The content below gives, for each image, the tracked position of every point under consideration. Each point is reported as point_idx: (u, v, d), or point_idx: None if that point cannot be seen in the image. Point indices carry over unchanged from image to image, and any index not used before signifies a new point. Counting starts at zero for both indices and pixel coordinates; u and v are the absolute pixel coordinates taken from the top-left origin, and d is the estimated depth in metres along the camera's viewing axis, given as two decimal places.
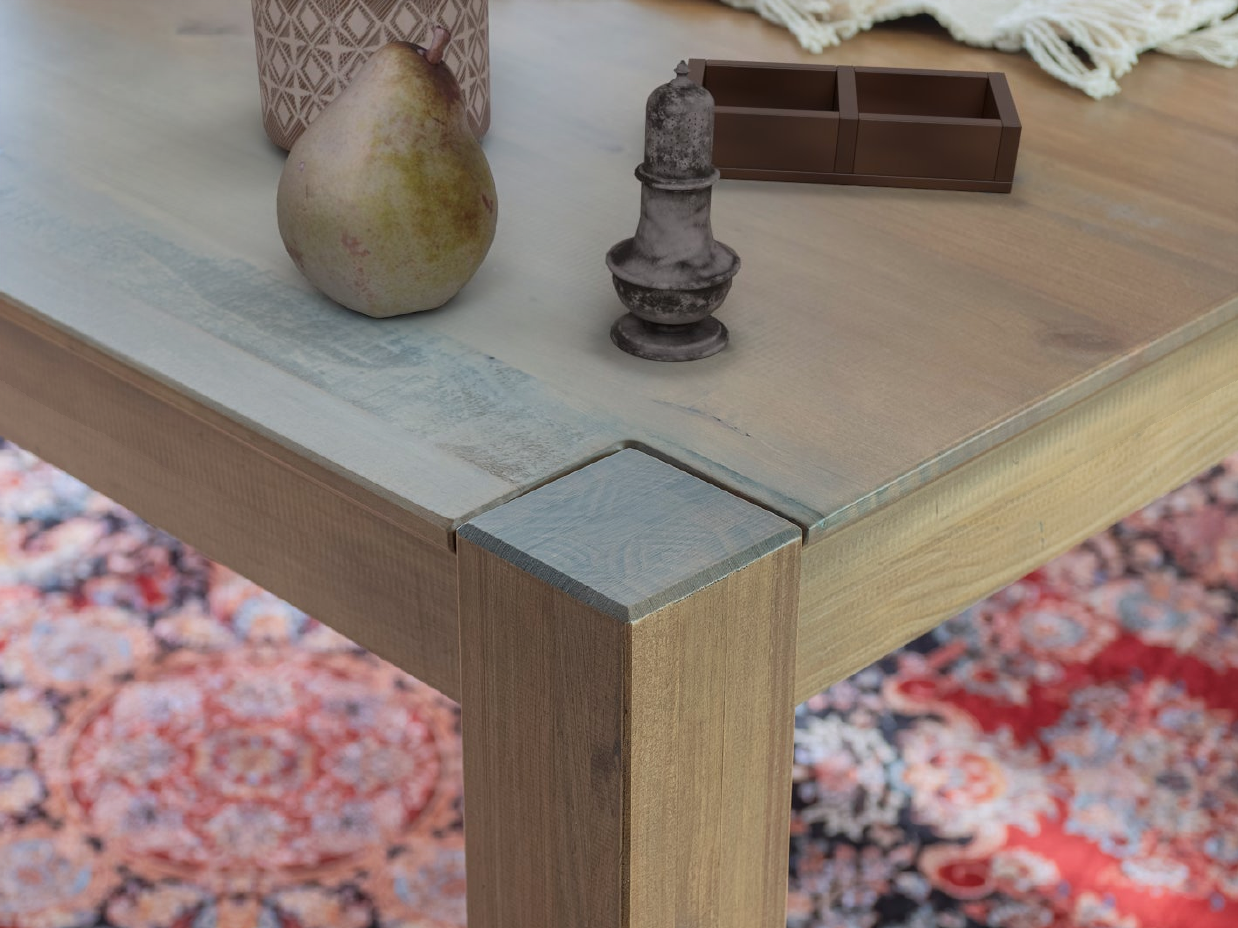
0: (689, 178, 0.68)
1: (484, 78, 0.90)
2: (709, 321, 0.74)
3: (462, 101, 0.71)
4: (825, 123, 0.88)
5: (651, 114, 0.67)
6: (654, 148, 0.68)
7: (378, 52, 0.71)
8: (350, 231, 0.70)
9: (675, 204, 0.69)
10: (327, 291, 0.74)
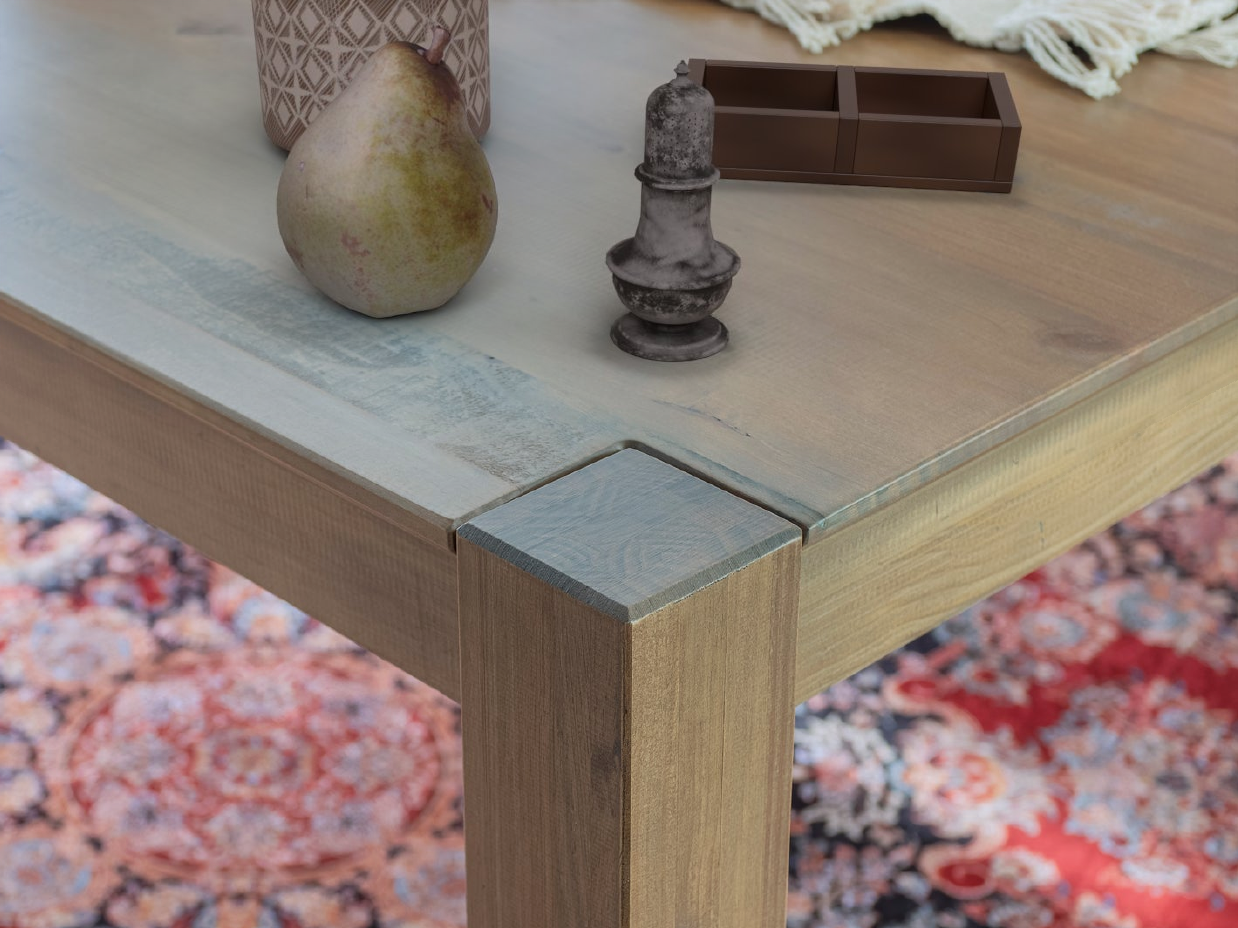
0: (689, 178, 0.68)
1: (484, 78, 0.90)
2: (709, 321, 0.74)
3: (462, 101, 0.71)
4: (825, 123, 0.88)
5: (651, 114, 0.67)
6: (654, 148, 0.68)
7: (378, 52, 0.71)
8: (350, 231, 0.70)
9: (675, 204, 0.69)
10: (327, 291, 0.74)
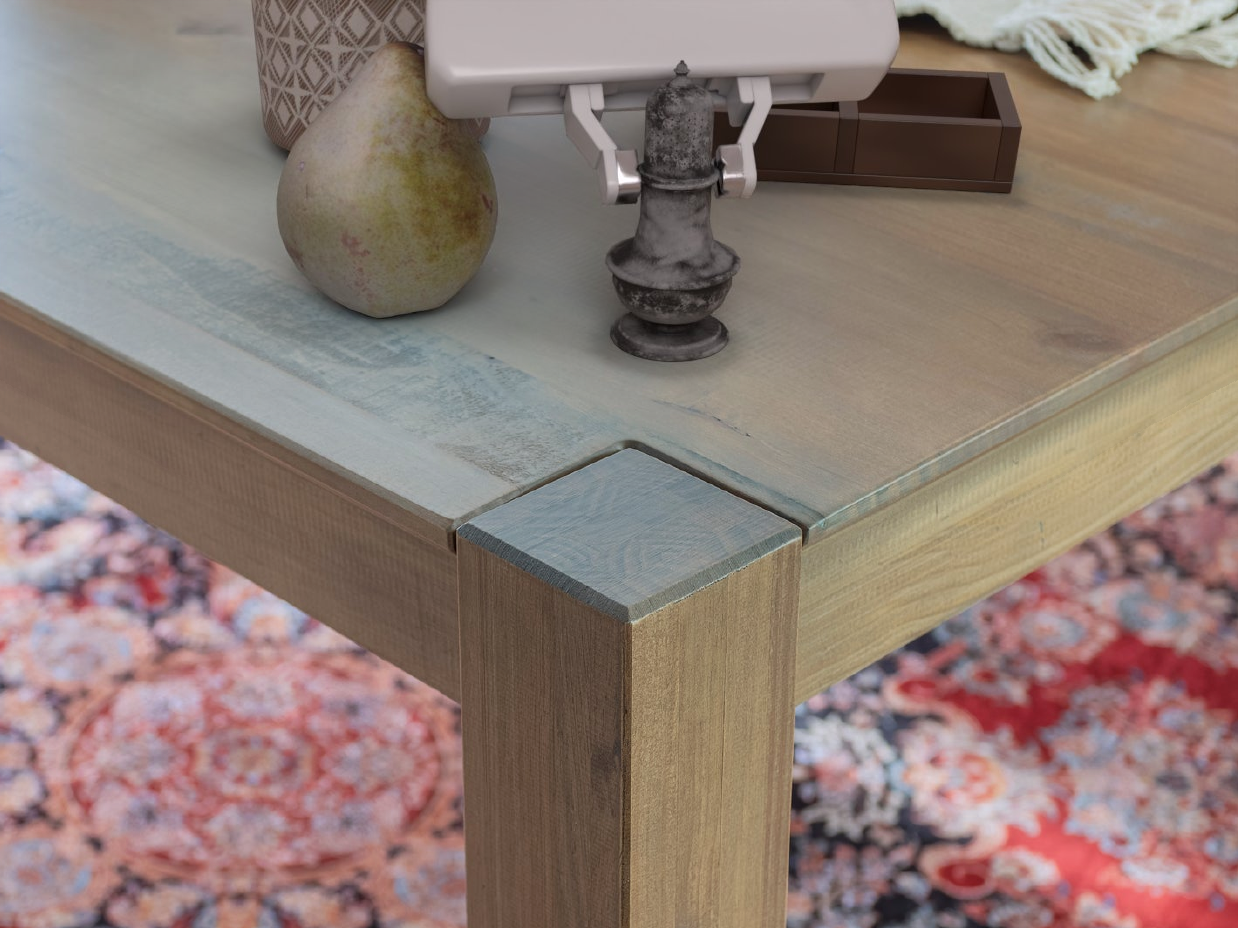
0: (689, 178, 0.68)
1: None
2: (709, 321, 0.74)
3: None
4: (825, 123, 0.88)
5: (651, 114, 0.67)
6: (654, 148, 0.68)
7: (378, 52, 0.71)
8: (350, 231, 0.70)
9: (674, 204, 0.69)
10: (327, 291, 0.74)
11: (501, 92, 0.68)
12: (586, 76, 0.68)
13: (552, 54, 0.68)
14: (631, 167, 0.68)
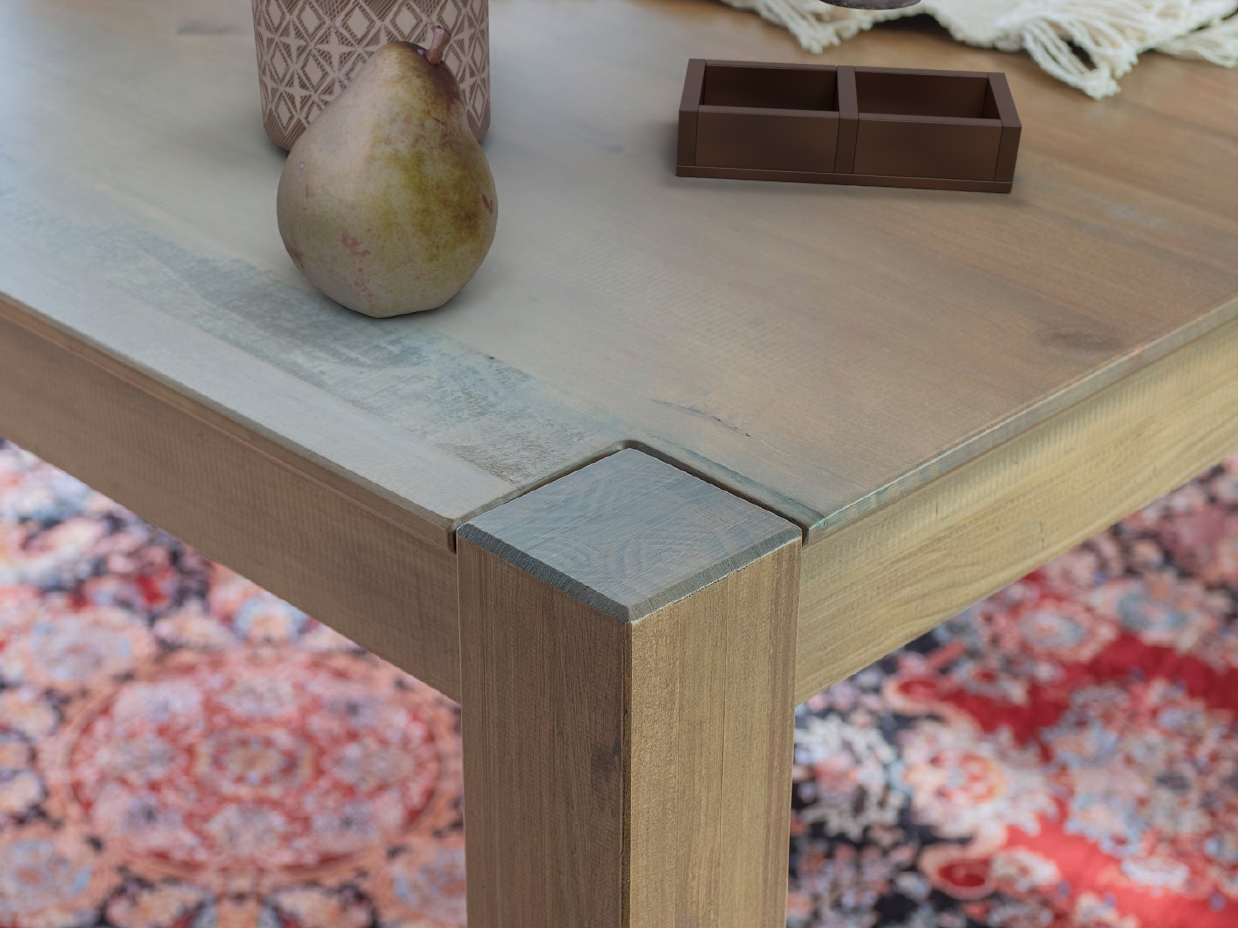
0: None
1: (484, 78, 0.90)
2: None
3: (462, 101, 0.71)
4: (825, 123, 0.88)
5: None
6: None
7: (378, 52, 0.71)
8: (350, 231, 0.70)
9: None
10: (327, 291, 0.74)
11: None
12: None
13: None
14: None
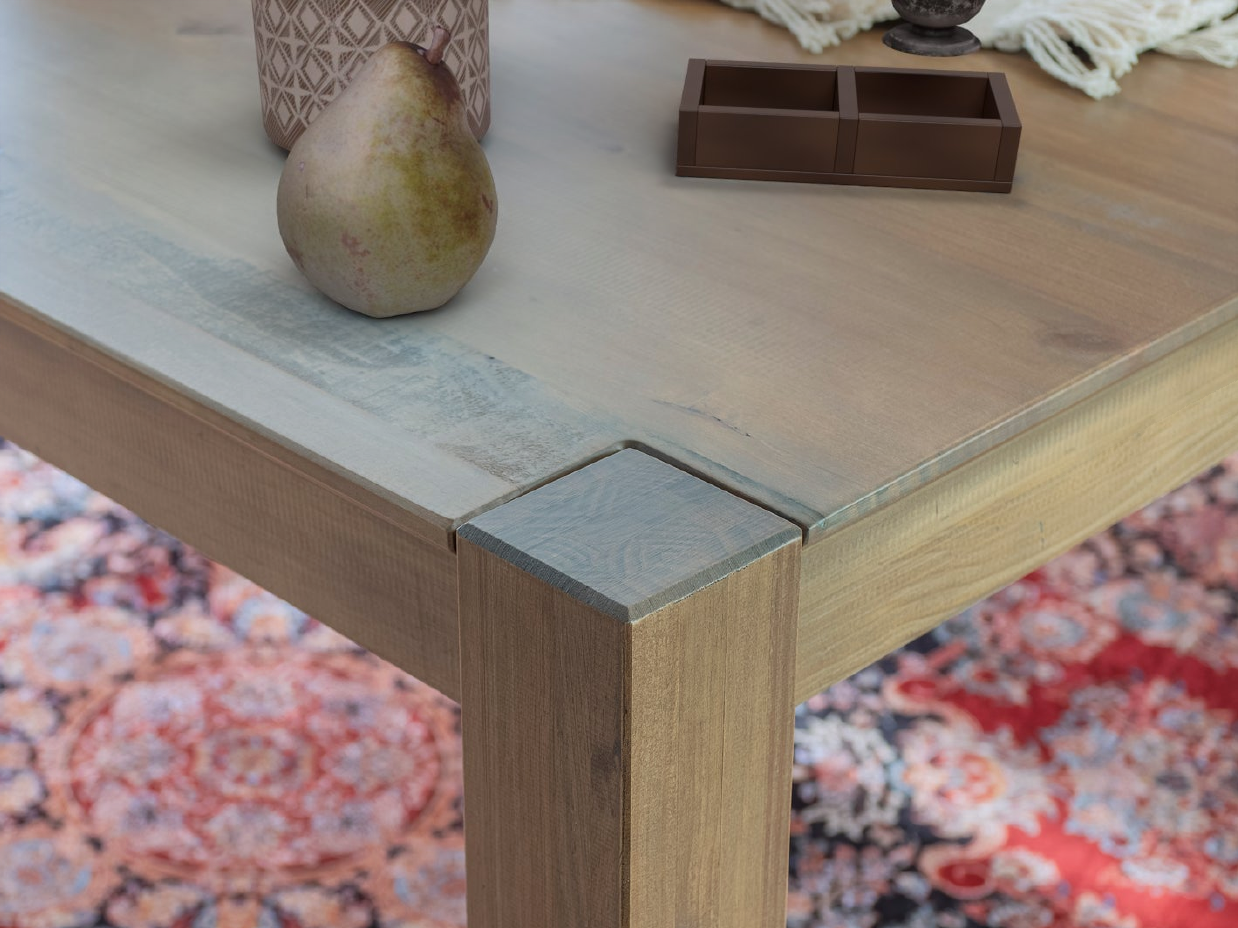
0: None
1: (484, 78, 0.90)
2: (964, 31, 0.89)
3: (462, 101, 0.71)
4: (825, 123, 0.88)
5: None
6: None
7: (378, 52, 0.71)
8: (350, 231, 0.70)
9: None
10: (327, 291, 0.74)
11: None
12: None
13: None
14: None
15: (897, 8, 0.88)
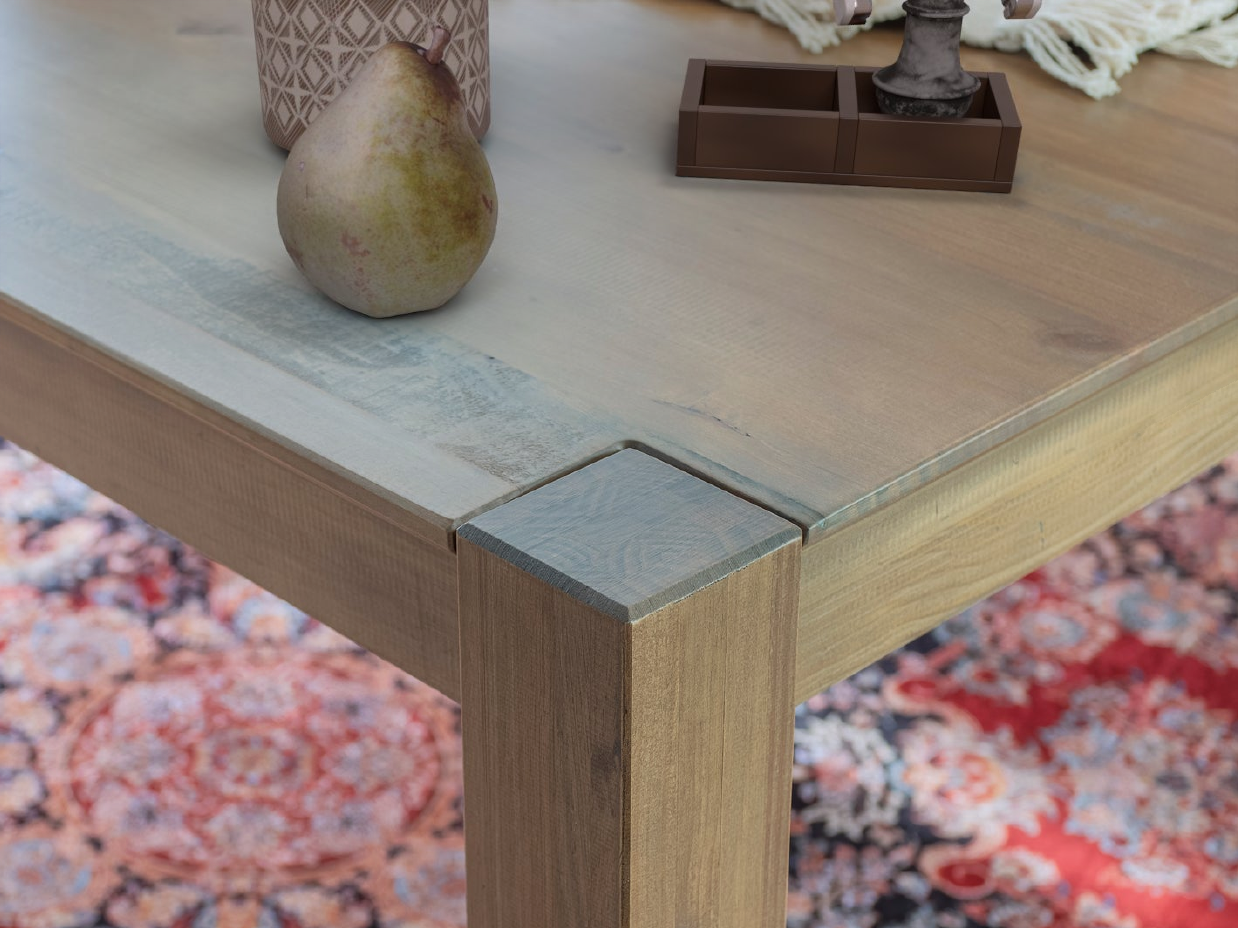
0: (949, 9, 0.87)
1: (484, 78, 0.90)
2: None
3: (462, 101, 0.71)
4: (825, 123, 0.88)
5: None
6: None
7: (378, 52, 0.71)
8: (350, 231, 0.70)
9: (936, 30, 0.88)
10: (327, 291, 0.74)
11: None
12: None
13: None
14: None
15: (884, 113, 0.91)
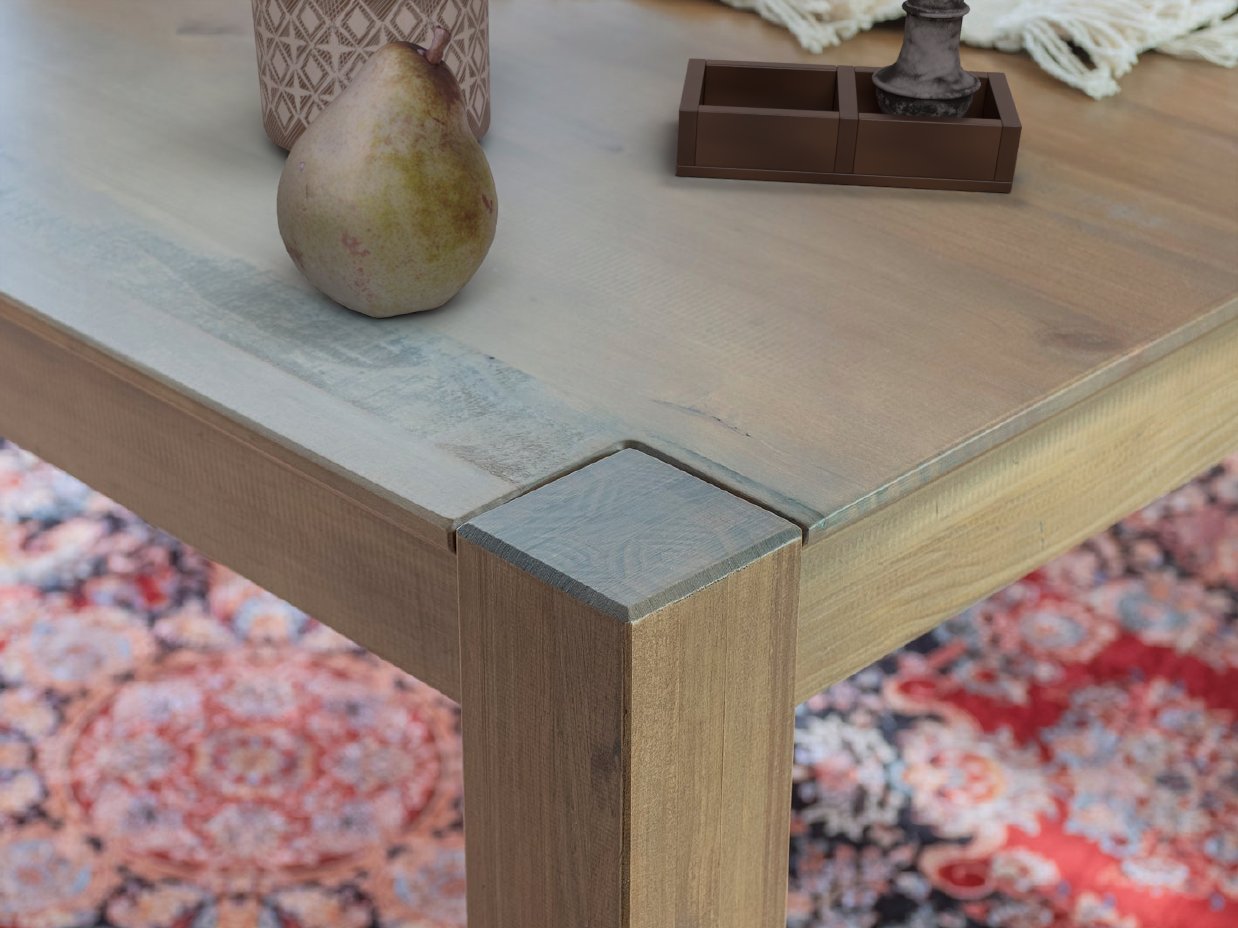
0: (949, 9, 0.87)
1: (484, 78, 0.90)
2: None
3: (462, 101, 0.71)
4: (825, 123, 0.88)
5: None
6: None
7: (378, 52, 0.71)
8: (350, 231, 0.70)
9: (936, 30, 0.88)
10: (327, 291, 0.74)
11: None
12: None
13: None
14: None
15: (884, 113, 0.91)
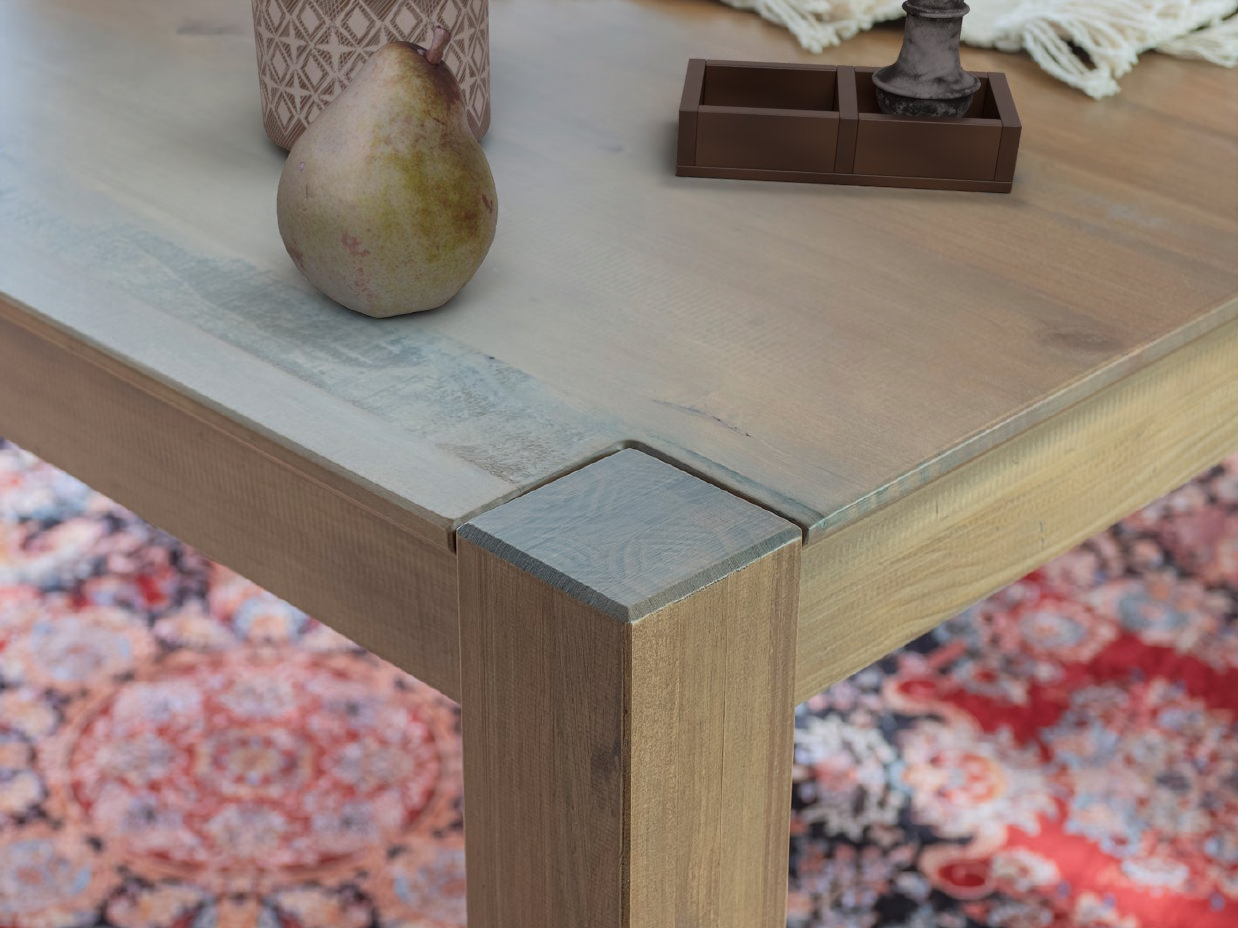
0: (949, 9, 0.87)
1: (484, 78, 0.90)
2: None
3: (462, 101, 0.71)
4: (825, 123, 0.88)
5: None
6: None
7: (378, 52, 0.71)
8: (350, 231, 0.70)
9: (936, 30, 0.88)
10: (327, 291, 0.74)
11: None
12: None
13: None
14: None
15: (884, 113, 0.91)
